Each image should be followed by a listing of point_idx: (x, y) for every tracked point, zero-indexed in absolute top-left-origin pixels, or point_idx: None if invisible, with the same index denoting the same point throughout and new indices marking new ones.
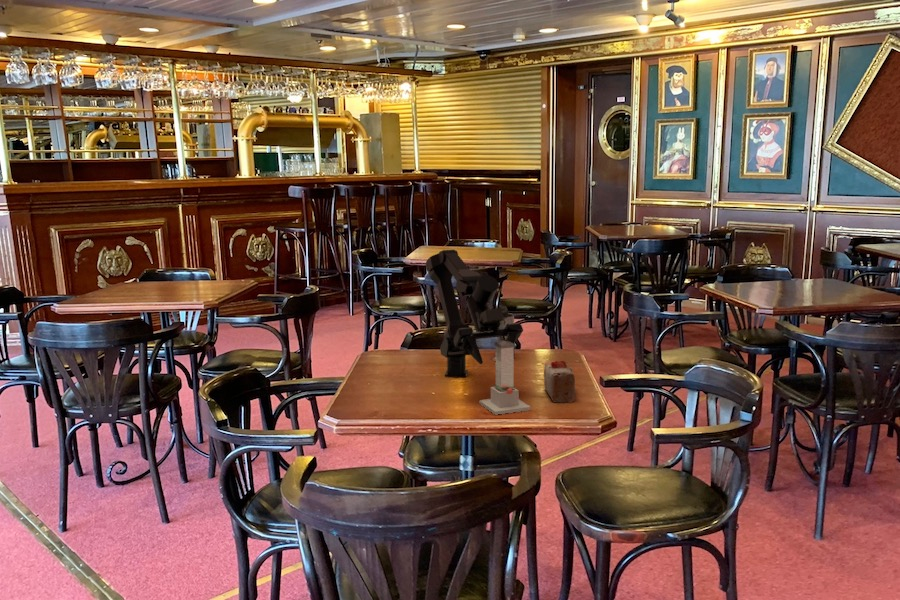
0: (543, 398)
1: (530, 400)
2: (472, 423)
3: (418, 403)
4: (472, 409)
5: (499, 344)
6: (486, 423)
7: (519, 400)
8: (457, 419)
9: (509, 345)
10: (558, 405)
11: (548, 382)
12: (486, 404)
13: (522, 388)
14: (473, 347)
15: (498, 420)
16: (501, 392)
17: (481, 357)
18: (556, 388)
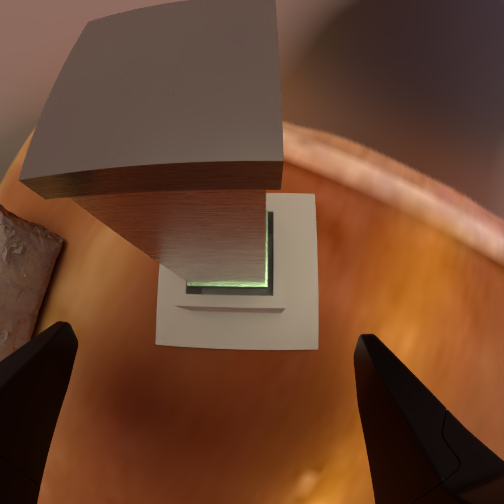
0: (65, 300)
1: (110, 301)
2: (404, 167)
3: (488, 417)
4: (365, 296)
5: (266, 28)
6: (364, 149)
7: (162, 276)
8: (437, 219)
9: (153, 13)
10: (69, 213)
11: (19, 276)
12: (312, 286)
13: (78, 436)
14: (476, 438)
15: (319, 155)
16: (272, 203)
17: (374, 362)
18: (30, 224)
